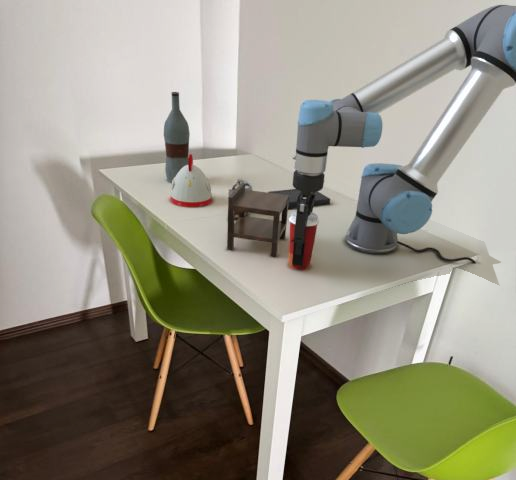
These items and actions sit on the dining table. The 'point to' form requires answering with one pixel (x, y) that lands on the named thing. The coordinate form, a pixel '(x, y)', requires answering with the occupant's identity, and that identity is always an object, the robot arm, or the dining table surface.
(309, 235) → the paper cup
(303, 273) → the dining table surface
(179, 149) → the bottle
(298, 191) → the picture frame
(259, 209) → the rack
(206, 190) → the kitchen timer
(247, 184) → the food container
